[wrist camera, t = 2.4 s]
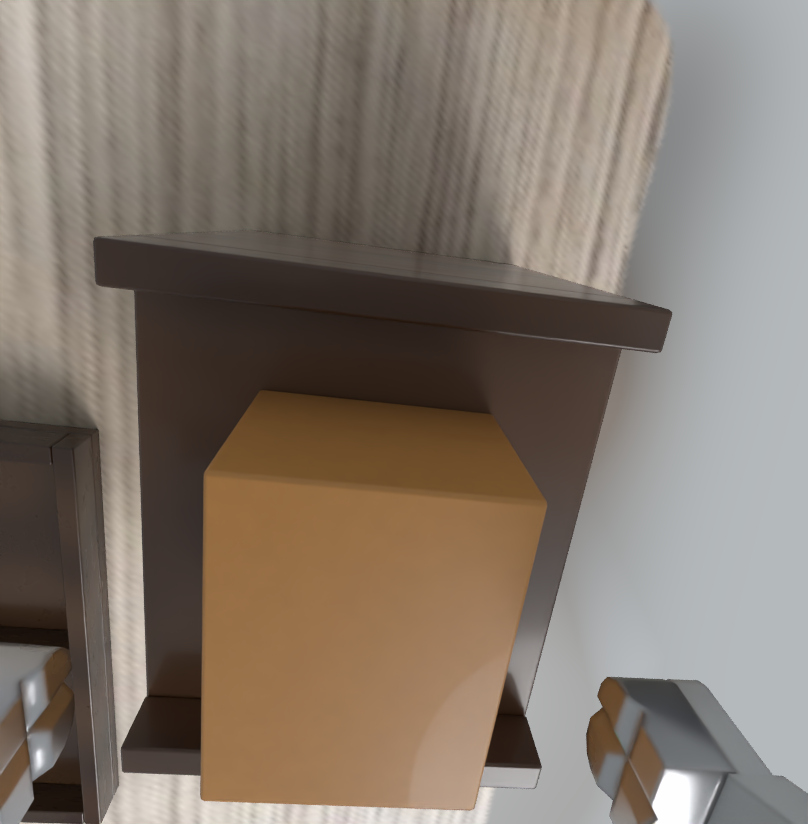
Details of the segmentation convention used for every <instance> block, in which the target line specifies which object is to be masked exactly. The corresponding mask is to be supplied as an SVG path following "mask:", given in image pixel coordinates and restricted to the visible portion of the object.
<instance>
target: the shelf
mask: <svg viewBox="0 0 808 824" xmlns="http://www.w3.org/2000/svg"><path fill="white" fill-rule="evenodd" d="M0 642H6V643H18V644H31V645H43V646H56V647H64V648H66V649H68V650H70V656H71V663H72V670H71V671H70V673H69V674H68V676H67V677H66V679H65V680H64V683H65V684H66V685H67V686H68V687H69V688H70V689H71V690H72V691H73V692H74V699H75V710H74V717H73V724H72V727H71V730H70V732H69V735H68V738H67V741H66V744H65V746H64V748H63V750H62V752H61V754H60V755H59V757H58V759H57V761H56V762H55V764H54V766H53V767H52V768H51V769H49V770H48V771H46V772H45V773H44V774H42V775H41V776H39V777H38V778H37V779H35V780H34V781H33V782H32V784H33V794H34V800H33V802H32V803H31V805H30V807H29V808H28V810H27V812H26V813H25V815H24V817H23V818H22V820H21V822H30V823H62V824H84V822H85V824H101V823H102V821H103V818H104V816H105V814H106V812H107V810H108V807H109V805H110V803H111V801H112V799H113V796H114V795H115V793H116V790H117V788H118V786H119V781H118V763H117V746H116V728H115V711H114V694H113V676H112V659H111V641H110V624H109V606H108V589H107V572H106V554H105V537H104V519H103V502H102V485H101V467H100V450H99V432H98V430H97V429H87V428H76V427H66V426H56V425H45V424H35V423H25V422H14V421H4V420H0Z"/></svg>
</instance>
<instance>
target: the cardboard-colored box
mask: <svg viewBox="0 0 808 824" xmlns="http://www.w3.org/2000/svg"><path fill="white" fill-rule="evenodd" d="M546 509H547V501H546V500H545V498H544V497H543V495H542V493H541V492H540V490H539V489H538V487H537V485H536V484H535V482H534V481H533V479H532V477H531V476H530V474H529V473H528V471H527V469H526V468H525V466H524V465H523V463H522V461H521V460H520V458H519V457H518V455H517V453H516V452H515V450H514V449H513V447H512V445H511V444H510V442H509V441H508V439H507V437H506V436H505V434H504V433H503V431H502V430H501V428H500V426H499V425H498V423H497V422H496V420H495V418H494V417H493V415H491V414H485V413H475V412H466V411H456V410H447V409H437V408H428V407H418V406H409V405H400V404H390V403H381V402H371V401H362V400H352V399H343V398H333V397H324V396H314V395H305V394H295V393H286V392H277V391H267V390H261V391H259V393H258V394H257V396H256V397H255V399H254V400H253V402H252V403H251V405H250V406H249V407H248V409H247V410H246V412H245V413H244V415H243V416H242V418H241V419H240V421H239V422H238V424H237V425H236V426H235V428H234V429H233V431H232V432H231V434H230V435H229V437H228V438H227V440H226V441H225V443H224V444H223V446H222V447H221V448H220V450H219V451H218V453H217V454H216V456H215V457H214V459H213V460H212V462H211V463H210V465H209V466H208V467H207V469H206V470H205V472H204V482H203V581H202V681H201V780H200V796H201V799H202V800H204V801H220V802H248V803H276V804H304V805H332V806H360V807H388V808H415V809H443V810H473V809H474V808H475V804H476V799H477V795H478V791H479V787H480V783H481V779H482V775H483V770H484V766H485V762H486V758H487V754H488V750H489V746H490V741H491V737H492V733H493V729H494V725H495V721H496V716H497V712H498V708H499V704H500V700H501V696H502V692H503V687H504V683H505V679H506V675H507V671H508V667H509V663H510V658H511V654H512V650H513V646H514V642H515V638H516V634H517V629H518V625H519V621H520V617H521V613H522V609H523V604H524V600H525V596H526V592H527V588H528V584H529V580H530V575H531V571H532V567H533V563H534V559H535V555H536V551H537V546H538V542H539V538H540V534H541V530H542V526H543V522H544V517H545V513H546Z"/></svg>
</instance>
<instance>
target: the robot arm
mask: <svg viewBox="0 0 808 824" xmlns="http://www.w3.org/2000/svg"><path fill="white" fill-rule="evenodd" d="M71 670H72V663H71V656H70V650H68V649H66V648H64V647H56V646H43V645H31V644H18V643H6V642H0V824H19V823H20V822H21V820H22V818H23V817H24V815H25V813H26V812H27V810H28V808H29V807H30V805H31V803H32V802H33V800H34V794H33V784H32V782H33V781H34V780H35V779H37V778H38V777H39V776H41V775H42V774H44V773H45V772H46V771H48V770H49V769H51V768H52V767H53V766H54V764H55V762H56V761H57V759H58V757H59V755H60V754H61V752H62V750H63V748H64V746H65V744H66V741H67V738H68V735H69V732H70V730H71V727H72V724H73V717H74V710H75V699H74V692H73V691H72V690H71V689H70V688H69V687H68V686H67V685H66V684H65V683H64V680H65V679H66V677H67V676H68V674H69V673H70V671H71ZM598 698H599V700H600V702H601V704H602V706H603V707H602V708H601V709H600V710H599V711H598V712H597V713H595V714H594V715H593V716H592V717H591V718H590V722H589V726H588V730H587V733H586V739H587V756H588V760H589V764H590V768H591V771H592V774H593V776H594V779H595V781H596V784H597V786H598V787H599V788H600V789H601V790H602V791H604V792H605V793H606V794H607V795H608V796H609V797H610V798H611V799H612V800H613V803H612V807H611V811H610V818H611V820H612V823H613V824H808V793H806V792H805V791H803V790H802V789H801V788H799V787H798V786H796V785H795V784H793V783H792V782H791V781H789V780H788V779H786V778H785V777H783V776H774V775H772V773H771V772H770V771H769V769H768V768H767V767H766V765H765V764H764V763H763V761H762V760H761V759H760V757H759V756H758V755H757V753H756V752H755V751H754V749H753V748H752V747H751V745H750V744H749V743H748V741H747V740H746V739H745V737H744V736H743V735H742V733H741V732H740V731H739V729H738V728H737V727H736V725H735V724H734V723H733V721H732V720H731V719H730V717H729V716H728V714H727V713H726V712H725V710H724V709H723V708H722V706H721V705H720V704H719V702H718V701H717V700H716V698H715V697H714V696H713V694H712V693H711V692H710V690H709V689H708V688H707V687H706V686H705V685H704V684H702V683H701V682H699V681H697V680H671V679H668V680H663V679H644V678H622V677H607V678H606V679H605V680H604V681H603V682H602V683H601V686H600V689H599V692H598Z"/></svg>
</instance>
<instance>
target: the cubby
mask: <svg viewBox="0 0 808 824" xmlns="http://www.w3.org/2000/svg"><path fill="white" fill-rule="evenodd" d="M93 244H94V262H95V281H96V284H97V285H99V286H102V287H111V288H119V289H127V290H134V297H135V329H136V361H137V392H138V424H139V455H140V487H141V518H142V550H143V582H144V613H145V645H146V676H147V697H146V698H145V699H144V701H143V703H142V705H141V708H140V710H139V712H138V714H137V716H136V718H135V720H134V722H133V724H132V726H131V728H130V730H129V732H128V734H127V737H126V739H125V741H124V743H123V745H122V747H121V761H122V771H123V772H124V773H148V774H173V775H198V776H201V681H202V581H203V482H204V472H205V470H206V469H207V467H208V466H209V465H210V463H211V462H212V460H213V459H214V457H215V456H216V454H217V453H218V451H219V450H220V448H221V447H222V446H223V444H224V443H225V441H226V440H227V438H228V437H229V435H230V434H231V432H232V431H233V429H234V428H235V426H236V425H237V424H238V422H239V421H240V419H241V418H242V416H243V415H244V413H245V412H246V410H247V409H248V407H249V406H250V405H251V403H252V402H253V400H254V399H255V397H256V396H257V394H258V393H259V391H261V390H267V391H277V392H286V393H295V394H305V395H314V396H324V397H333V398H343V399H352V400H362V401H371V402H381V403H390V404H400V405H409V406H418V407H428V408H437V409H447V410H456V411H466V412H475V413H485V414H491V415H493V417H494V418H495V420H496V422H497V423H498V425H499V426H500V428H501V430H502V431H503V433H504V434H505V436H506V437H507V439H508V441H509V442H510V444H511V445H512V447H513V449H514V450H515V452H516V453H517V455H518V457H519V458H520V460H521V461H522V463H523V465H524V466H525V468H526V469H527V471H528V473H529V474H530V476H531V477H532V479H533V481H534V482H535V484H536V485H537V487H538V489H539V490H540V492H541V493H542V495H543V497H544V498H545V500H546V501H547V509H546V513H545V517H544V522H543V526H542V530H541V534H540V538H539V542H538V546H537V551H536V555H535V559H534V563H533V567H532V571H531V575H530V580H529V584H528V588H527V592H526V596H525V600H524V604H523V609H522V613H521V617H520V621H519V625H518V629H517V634H516V638H515V642H514V646H513V650H512V654H511V658H510V663H509V667H508V671H507V675H506V679H505V683H504V687H503V692H502V696H501V700H500V704H499V708H498V712H497V716H496V721H495V725H494V729H493V733H492V737H491V741H490V746H489V750H488V754H487V758H486V762H485V766H484V770H483V775H482V779H481V783H480V787H498V788H500V787H501V788H524V789H525V788H526V789H535V788H536V785H537V782H538V779H539V775H540V771H541V768H542V766H541V763H540V760H539V757H538V753H537V750H536V747H535V744H534V740H533V737H532V734H531V731H530V727H529V724H528V721H527V718H526V717H525V714H526V710H527V706H528V703H529V699H530V695H531V691H532V687H533V684H534V680H535V676H536V672H537V668H538V665H539V661H540V657H541V653H542V649H543V645H544V642H545V638H546V634H547V630H548V627H549V623H550V619H551V615H552V611H553V608H554V604H555V600H556V596H557V592H558V589H559V585H560V581H561V577H562V573H563V570H564V566H565V562H566V558H567V554H568V551H569V547H570V543H571V539H572V535H573V531H574V528H575V524H576V520H577V517H578V512H579V509H580V505H581V501H582V498H583V493H584V490H585V486H586V482H587V478H588V474H589V471H590V467H591V463H592V460H593V456H594V452H595V448H596V444H597V441H598V437H599V433H600V429H601V425H602V422H603V418H604V414H605V410H606V406H607V402H608V399H609V395H610V391H611V387H612V384H613V380H614V376H615V372H616V368H617V364H618V361H619V357H620V353H621V349H627V350H636V351H644V352H653V353H658V352H661V351H662V348H663V344H664V341H665V338H666V334H667V331H668V327H669V323H670V320H671V317H672V312H671V311H670V310H668V309H664V308H661V307H658V306H654V305H651V304H647V303H644V302H640V301H637V300H632V299H629V298H626V297H623V296H619V295H616V294H612V293H609V292H605V291H602V290H598V289H595V288H591V287H588V286H584V285H581V284H578V283H574V282H571V281H567V280H564V279H560V278H557V277H553V276H550V275H546V274H543V273H539V272H536V271H532V270H529V269H526V268H522V267H519V266H515V265H510V264H502V263H494V262H487V261H479V260H472V259H464V258H457V257H449V256H442V255H434V254H427V253H419V252H411V251H404V250H396V249H389V248H381V247H374V246H366V245H359V244H351V243H344V242H336V241H328V240H321V239H313V238H306V237H298V236H291V235H283V234H276V233H268V232H261V231H253V230H240V231H217V232H195V233H172V234H149V235H123V236H100V237H95V238H94V241H93Z"/></svg>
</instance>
